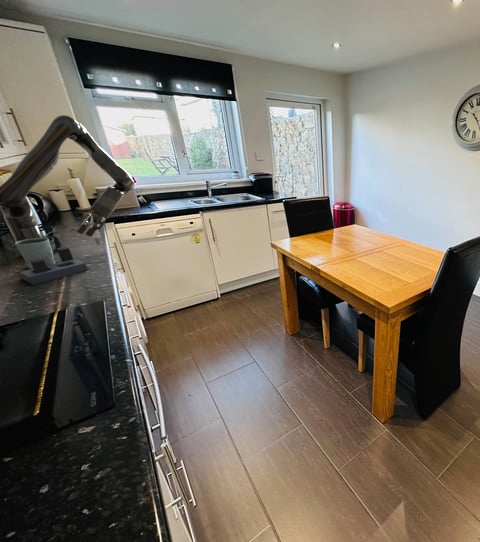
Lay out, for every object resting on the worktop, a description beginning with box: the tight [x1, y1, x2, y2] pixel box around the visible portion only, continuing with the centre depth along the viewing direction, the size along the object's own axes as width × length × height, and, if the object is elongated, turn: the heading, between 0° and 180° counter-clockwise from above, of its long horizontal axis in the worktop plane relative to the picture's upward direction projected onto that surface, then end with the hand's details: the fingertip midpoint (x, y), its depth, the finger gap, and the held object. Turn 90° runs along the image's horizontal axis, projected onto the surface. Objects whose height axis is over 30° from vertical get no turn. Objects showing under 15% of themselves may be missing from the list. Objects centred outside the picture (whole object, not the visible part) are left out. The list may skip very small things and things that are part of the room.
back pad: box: [56, 246, 74, 262], centre depth 130 cm, size 4×3×8 cm
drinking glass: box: [14, 237, 56, 270], centre depth 128 cm, size 10×10×12 cm
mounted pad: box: [30, 258, 48, 273], centre depth 117 cm, size 4×3×8 cm
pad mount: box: [19, 258, 89, 286], centre depth 121 cm, size 10×18×4 cm, turn 153°
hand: (83, 234), depth 134 cm, fingers open, 8 cm apart
